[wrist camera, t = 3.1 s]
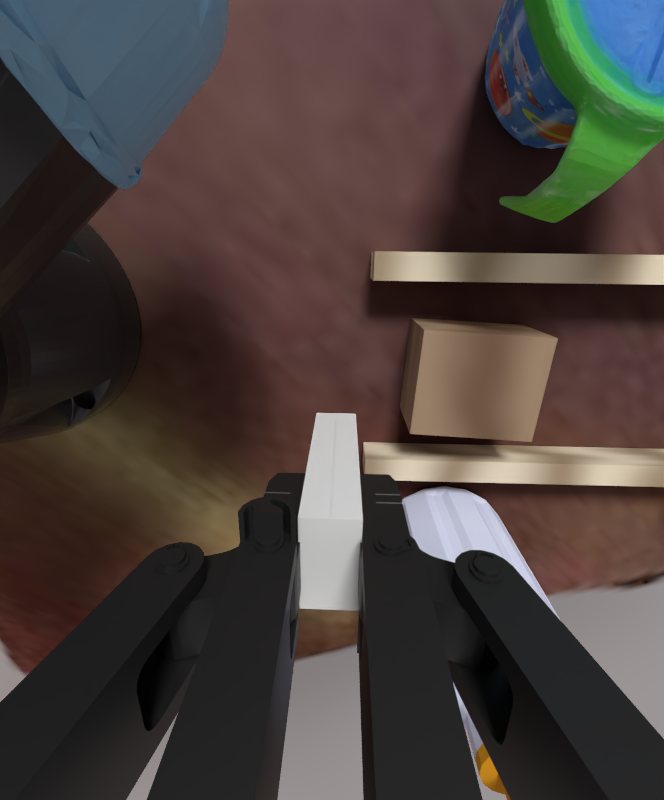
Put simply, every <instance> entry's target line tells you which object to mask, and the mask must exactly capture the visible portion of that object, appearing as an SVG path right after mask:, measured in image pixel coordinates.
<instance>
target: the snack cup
mask: <svg viewBox="0 0 664 800" xmlns="http://www.w3.org/2000/svg"><path fill="white" fill-rule="evenodd" d="M485 83H486V93H487V96H488V99H489V101H490V103H491V107H492V109H493V111H494V113H495V115H496V117H497V118H498V120H499V121H500V123H501V124H502V126H503V127H504V128H505V129H506V130H507V131H508V133H509V134H511V135H512V136H513V137H514V138H515V139H517V140H518V141H519V142H520V143H521V144H522V145H529V146H532V147H534V148H549V149H555V148H558V147H566V149H565V151H564V154H563V156H562V158H561V160H560V162H559V164H558V166H557V168H556V170H555V171H554V172H553V173H552V175H551V176H549V177H548V178H547V179H546V180H544V181H543V182H542V183H541V184H540V185H539V186H538V187H537V188H536V189H534V190H533V191H532V192H531V193H529V194H528V195H527V196H503V197H501V198H500V200H499V202H500V204H501V205H503V206H505V207H507V208H510V209H512V210H514V211H517V212H519V213H522V214H525V215H528V216H530V217H533V218H536V219H539V220H543V221H546V222H552V223H556V222H558V221H560V220H563V219H564V218H565V217H567V216H569V215H570V214H572V213H573V212H575V211H576V210H578V209H579V208H581V207H582V206H584V205H585V204H587V203H589V202H590V201H591V200H593V199H594V198H596V197H597V196H599V195H600V194H601V193H603V192H604V191H606V190H607V189H608V188H609V187H611V186H612V185H613V184H614V183H615V182H616V181H618V180H619V179H620V178H621V177H622V176H623V175H624V174H626V173H627V172H628V171H629V170H631V169H632V168H633V167H634V166H635V165H636V164H637V163H638V162H639V161H640V160H641V159H642V158H643V157H644V156H645V155H646V154H647V153H648V152H649V151H650V150H651V149H652V148H653V147H654V146H655V145H657V144H658V143H659V142H661V140H662V139H664V0H504V4H503V6H502V8H501V10H500V13H499V16H498V18H497V21H496V25H495V27H494V31H493V34H492V38H491V41H490V44H489V50H488V53H487V58H486V74H485Z"/></svg>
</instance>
